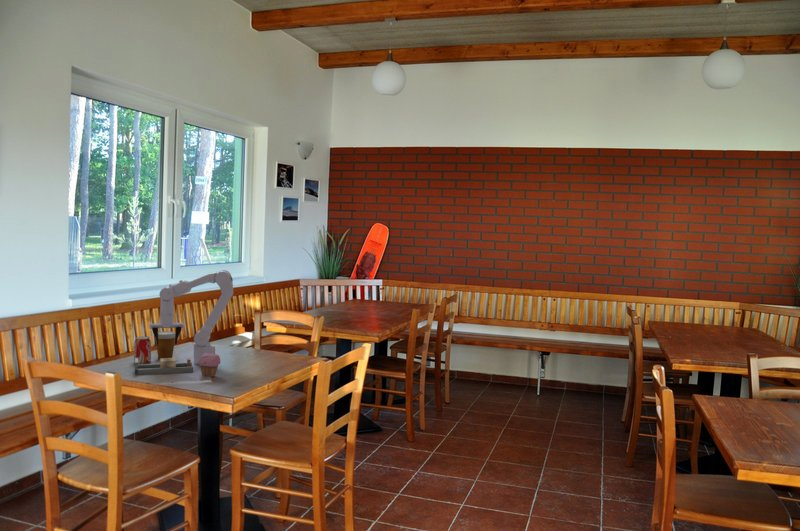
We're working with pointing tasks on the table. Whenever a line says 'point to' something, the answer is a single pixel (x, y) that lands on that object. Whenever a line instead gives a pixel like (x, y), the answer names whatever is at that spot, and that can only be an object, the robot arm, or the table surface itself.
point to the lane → (157, 370)
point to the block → (172, 363)
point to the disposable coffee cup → (165, 344)
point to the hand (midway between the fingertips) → (166, 344)
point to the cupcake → (209, 364)
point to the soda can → (142, 350)
